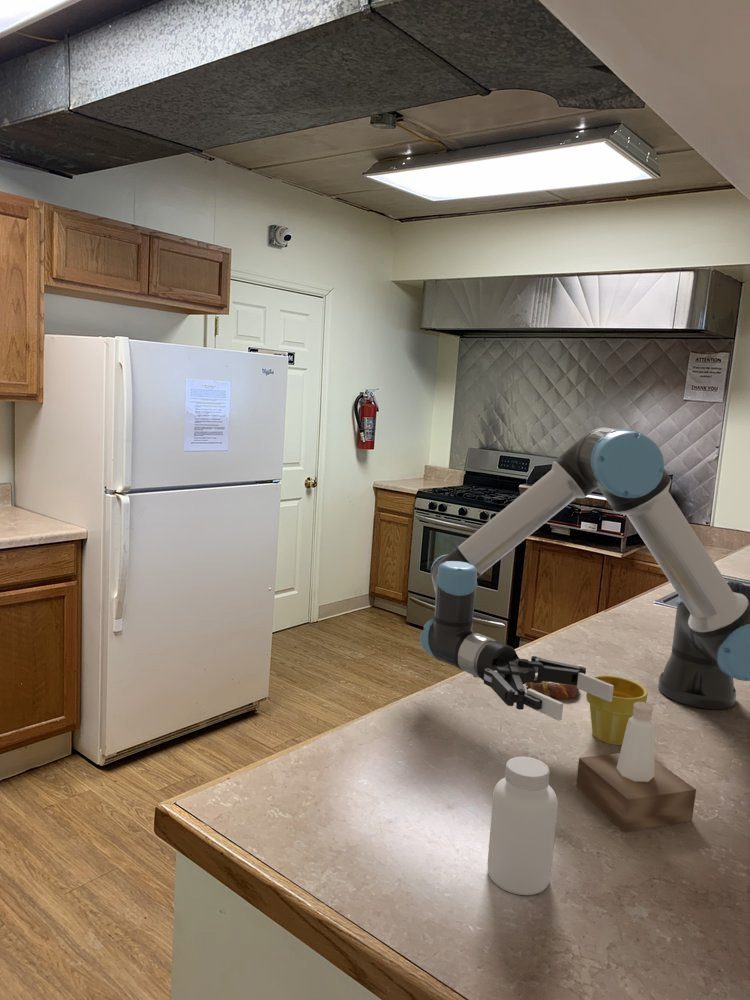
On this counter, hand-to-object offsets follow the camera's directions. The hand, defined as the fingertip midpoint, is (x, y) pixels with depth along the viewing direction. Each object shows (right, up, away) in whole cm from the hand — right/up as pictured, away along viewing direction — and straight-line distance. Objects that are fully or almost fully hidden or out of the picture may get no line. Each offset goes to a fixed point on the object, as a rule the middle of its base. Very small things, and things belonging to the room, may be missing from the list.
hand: (587, 702), depth 118 cm
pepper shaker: (+5, -9, -6) cm, 12 cm away
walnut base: (+5, -14, -6) cm, 16 cm away
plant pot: (+9, -11, +17) cm, 22 cm away
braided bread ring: (+3, -8, +37) cm, 38 cm away
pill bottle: (-16, -16, -24) cm, 33 cm away
